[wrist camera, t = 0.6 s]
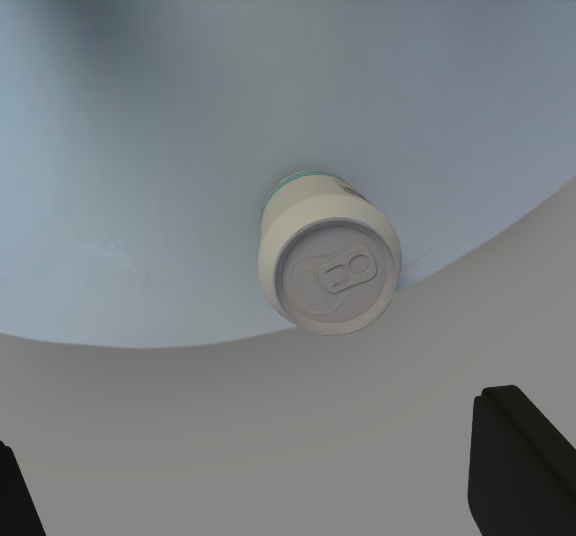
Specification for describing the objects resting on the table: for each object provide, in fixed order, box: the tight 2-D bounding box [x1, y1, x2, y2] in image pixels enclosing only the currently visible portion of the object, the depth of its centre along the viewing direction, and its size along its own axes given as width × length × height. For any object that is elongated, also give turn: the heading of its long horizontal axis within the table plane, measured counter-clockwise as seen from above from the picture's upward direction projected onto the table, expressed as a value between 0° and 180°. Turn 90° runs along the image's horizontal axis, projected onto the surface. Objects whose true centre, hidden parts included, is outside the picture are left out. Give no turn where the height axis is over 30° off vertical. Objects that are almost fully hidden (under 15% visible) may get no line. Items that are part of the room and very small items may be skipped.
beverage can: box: [258, 170, 402, 336], centre depth 24 cm, size 7×7×12 cm
